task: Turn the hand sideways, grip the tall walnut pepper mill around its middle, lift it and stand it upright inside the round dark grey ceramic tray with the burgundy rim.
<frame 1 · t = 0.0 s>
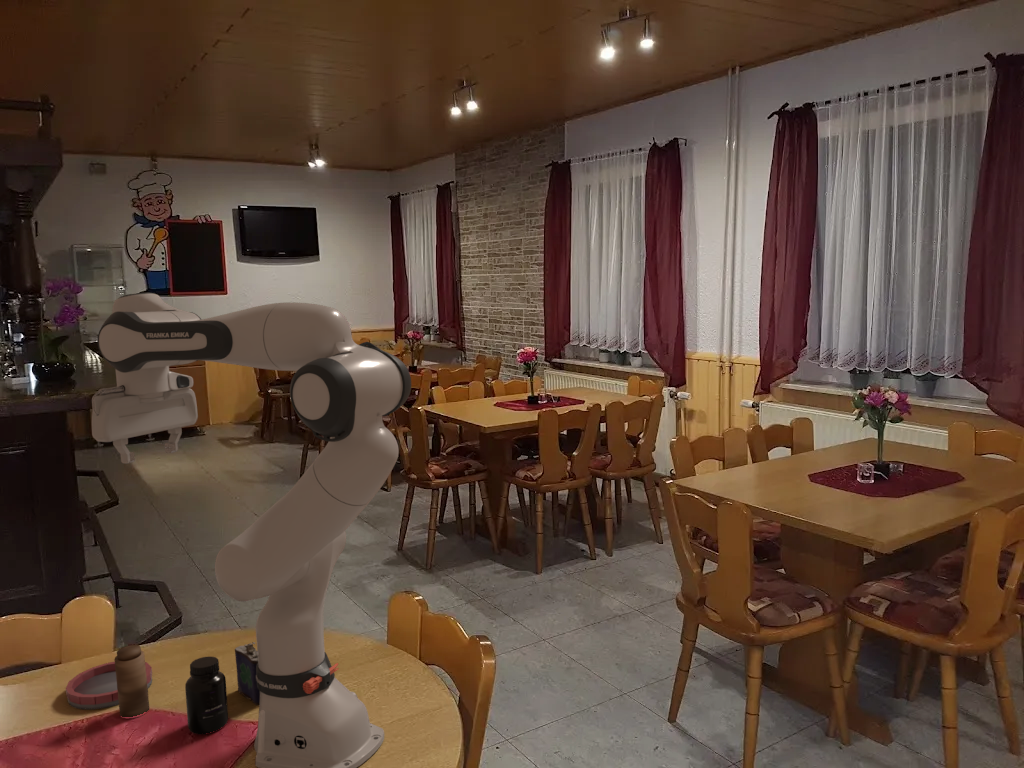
hand: (150, 457, 143), 48 cm above the table, tool pointing down, fingers open, 8 cm apart
pepper mill: (134, 711, 146), on the table
supplement bottle: (209, 726, 141), on the table
flask: (253, 697, 150), on the table
round tray: (110, 689, 155), on the table
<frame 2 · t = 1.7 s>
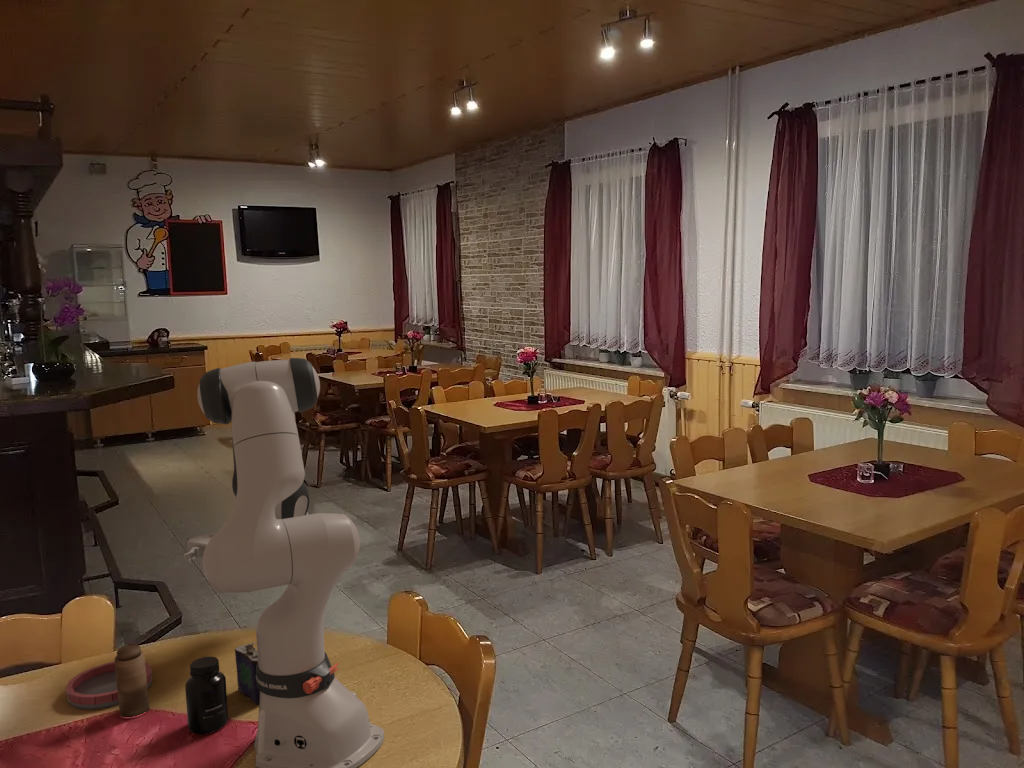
hand: (202, 562, 160), 23 cm above the table, tool horizontal, fingers open, 8 cm apart
nothing on the table moved.
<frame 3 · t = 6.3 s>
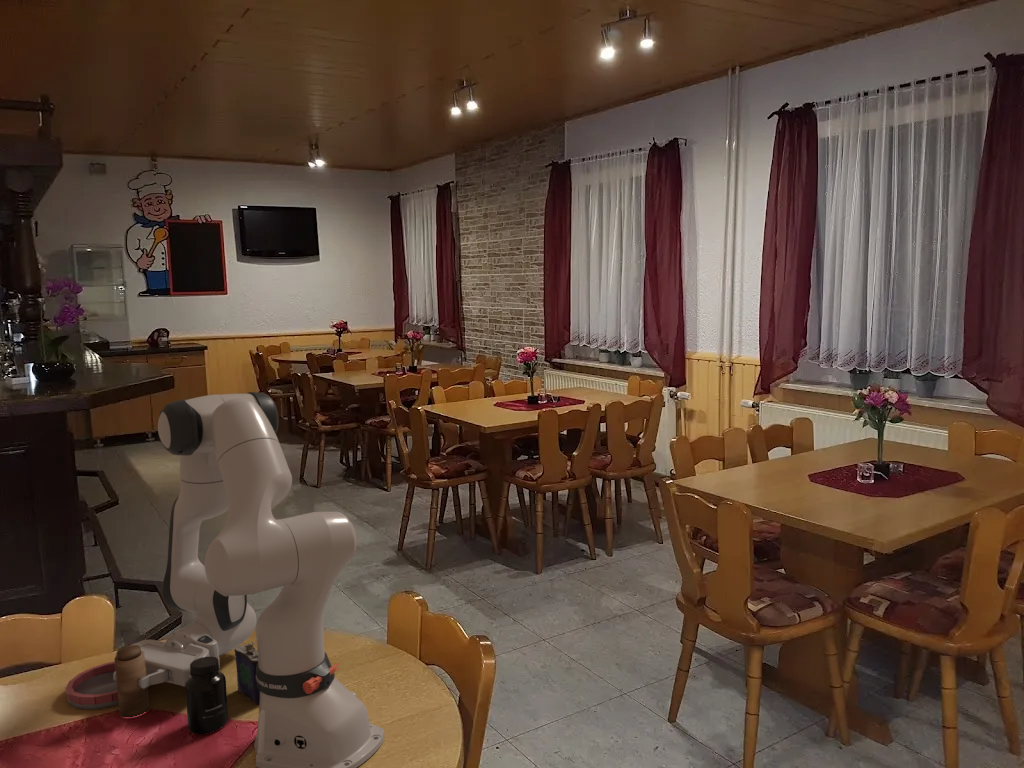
hand: (127, 680, 145), 7 cm above the table, tool horizontal, fingers closed on pepper mill, 5 cm apart
pepper mill: (134, 711, 146), on the table, touching gripper
everything else where it was.
when the fingers open (9 cm above the table, at t = 11.2 s): pepper mill drops 1 cm, resting on round tray.
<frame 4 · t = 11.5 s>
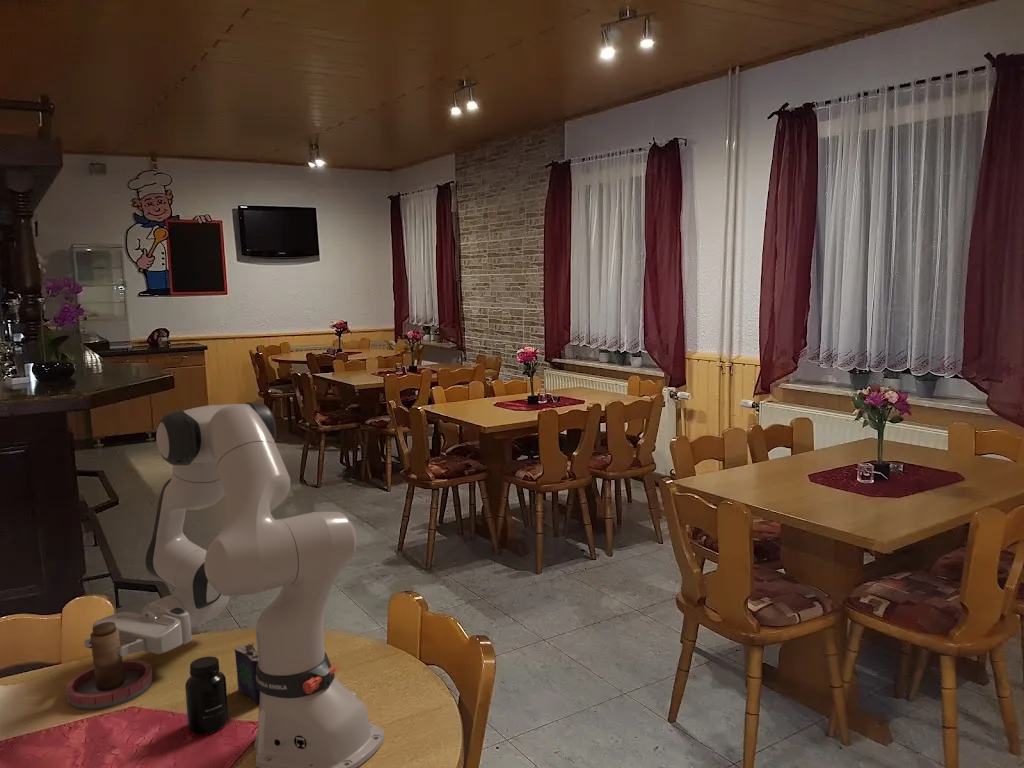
hand: (102, 648, 153), 9 cm above the table, tool horizontal, fingers open, 8 cm apart
pepper mill: (110, 684, 155), point 1 cm above the table, touching round tray
everything else where it was.
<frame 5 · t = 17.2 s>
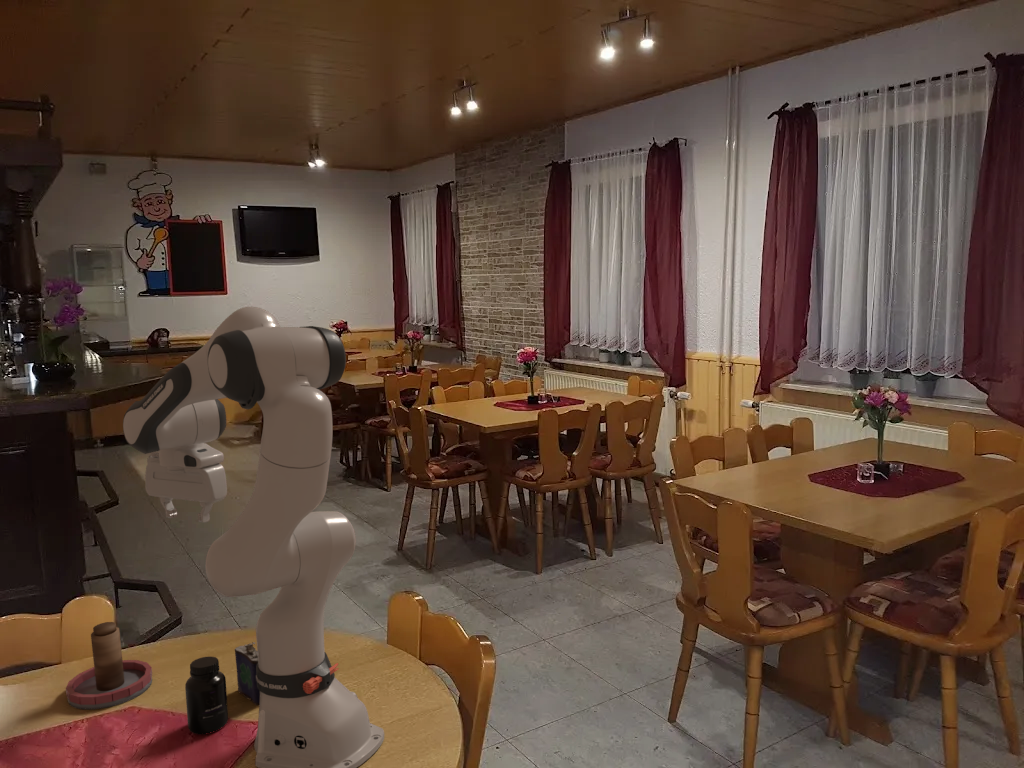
hand: (187, 519, 163), 31 cm above the table, tool pointing down, fingers open, 8 cm apart
nothing on the table moved.
at the end: pepper mill 0.0 cm off-centre on the round tray, point 1.0 cm above the round tray's base; pepper mill tilted 0°; the gripper is holding nothing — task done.
